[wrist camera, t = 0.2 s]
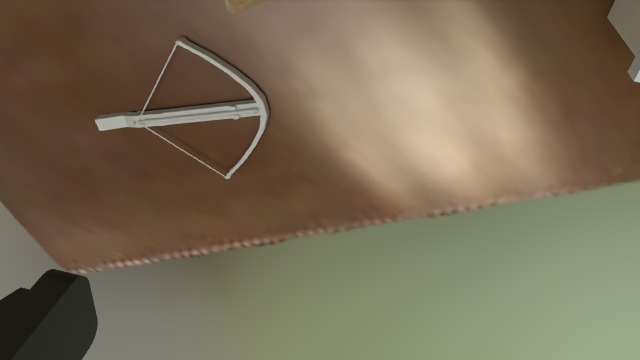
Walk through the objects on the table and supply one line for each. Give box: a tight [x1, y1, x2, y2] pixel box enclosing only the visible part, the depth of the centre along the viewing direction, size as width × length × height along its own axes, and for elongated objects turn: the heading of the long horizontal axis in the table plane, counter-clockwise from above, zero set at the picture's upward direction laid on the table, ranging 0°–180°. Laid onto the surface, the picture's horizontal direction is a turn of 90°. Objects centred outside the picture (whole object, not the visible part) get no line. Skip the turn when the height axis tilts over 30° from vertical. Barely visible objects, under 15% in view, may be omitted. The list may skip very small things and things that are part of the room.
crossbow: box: [95, 37, 270, 179], centre depth 45 cm, size 16×13×2 cm
